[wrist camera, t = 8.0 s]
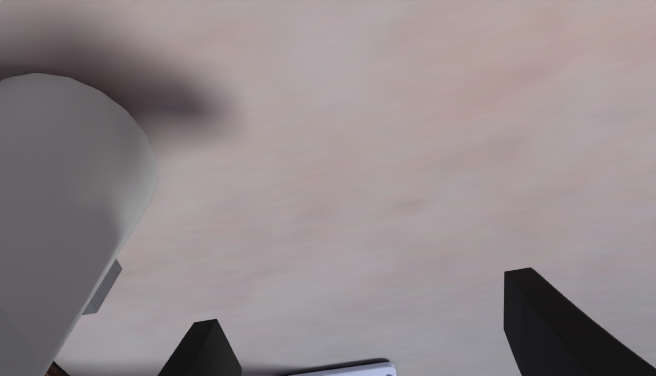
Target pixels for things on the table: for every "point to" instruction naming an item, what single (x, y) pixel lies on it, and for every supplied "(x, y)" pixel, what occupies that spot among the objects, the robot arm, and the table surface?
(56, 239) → the can
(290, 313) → the table surface
